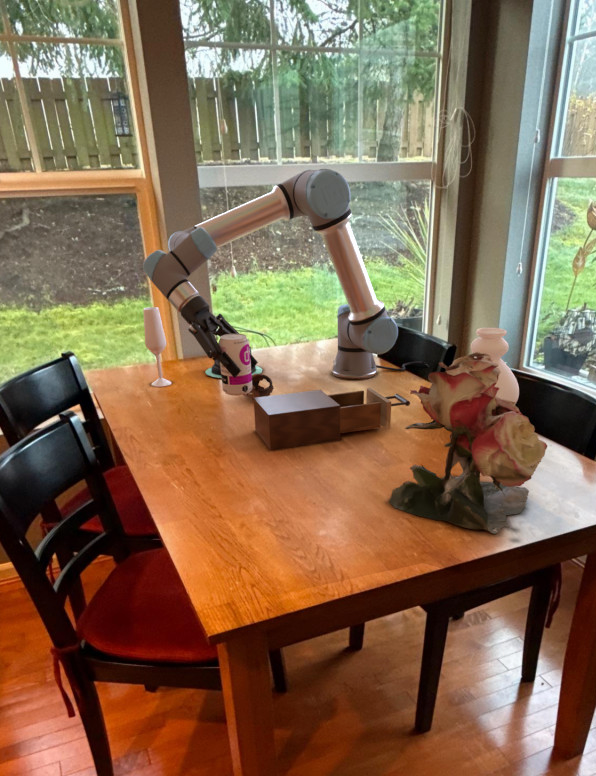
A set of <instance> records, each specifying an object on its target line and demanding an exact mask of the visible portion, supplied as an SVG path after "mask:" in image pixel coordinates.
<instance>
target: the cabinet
mask: <svg viewBox="0 0 596 776" xmlns="http://www.w3.org/2000/svg"><path fill="white" fill-rule="evenodd" d="M328 395H329V394H327V393H326V392H324V391H323V390H321V389H315V390H307V391H298V392H290V393H283V394H281V393H280V394H273V395H269V396H265V397H256V398H253V397H252V398H253V399H252V401H253V400H254V401H253V414H254V415H253V416H254V426H255V427H254V429H255V432H256V434H257V435H258V436H259V437H260V439H261V440H262V442H263V443H264V444H265V446H267V448H268V449H269V450H270V451H276V450H277V451H278V450H283V449H290V448H297V447H303V446H304V447H305V446H311V445H316V444H323V443H331V442H337V441H341V433H340V405H339V404H338V403H336V402H335V401H334V400H333V399H331V398H330V397H329V396H328Z"/></svg>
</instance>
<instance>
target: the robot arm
mask: <svg viewBox="0 0 596 776" xmlns="http://www.w3.org/2000/svg"><path fill="white" fill-rule="evenodd" d="M351 197H352V196H351V188H350V186H349V182H348V181H347V179H346V178H345V177H344V176H343V175H342V174H341V173H339V172H337V171H335V170H333V169H330V168H320V169H307V170H302V171H301V172H299V173H297V174H294V176H292V177H290V178H288V179H286V180H284V181H282V182H281V183H278V184H276V185H274V186H273V188H272V190H271V191H270V192H268V193H266V194H263V195H262V196H259V197H256V198H255V199H252V200H250V201H247V202H246V203H245V202H244V203H243V204H241V205H239V206H236V207H234V208H232V209H230V210H227V211H225V212H223V213H220V214H219V215H216V216H214V217H212V218H209V219H207V220H205V221H203V222H201V223H198V224H196V225H194V226H192V227H189V228H187V229H184V230H178V231H176V232H174V233H172V234H171V235H170V237H169V238H168V242H167V247H168V252H167V253H166V252H165V251H163V250H162V249H157V250H155V251H153V252H151V253H149V255H148V256H147V257H146V258H145V259H144V261H143V264H142V270H143V273H145V275H146V276H147V278H148V279H149V280H150V281H151V283H152V284H153V285H154V286H155V287H156V288H157V289H158V290H159V292H160V293H161V294H162V295H163V296H164V297H165V299H166V300H167V301H168V302H169V303H170V304H171V305H172V306H173V308H174V310H176V312H178V313H180V316H181V317H182V318H183V319H184V321H185V322H186V323H187V325H190V326H189V327H188V329H187V330H188V332H189V333H190V334H191V335H192V336H193V337H194V338H195V340H196V341H197V343H198V344H199V345H200V347H201V348H202V350H203V351H204V352H205V354H206V356H207V357H208V358H209V359H211V360H213V361H216V360H217V359H218V360H219V361H220V363H221V364H222V365H223V366H224V367H225V368H226V369H227V370H228V371H229V372H230V373H231V375H232V376H233V377H234V378H235V377H236V376H237V375H238V374H239V373H240V372H241V370H240V369H239V367H238V366H237V365H236V364H235V363H234V362H233V360H232V359H231V358H230V357H229V356H228V355H227V353H226V352H223V353H222V350H221V348H220V346H219V344H218V342H219V341H218V340H217V338H216V336H218V337H219V338H220V337H221V336H223V335H226V334H240V332H238V331H237V329H235V327H233V326H232V325H231V324H230V323H229V322H228V321H227V319H226V318H225V317H224V316H223V315H222V314H221V313H218V314H217V315H214V314H213V313H212V312H210V307H211V306H210V304H209V303H208V302H207V301H206V299H205V298H204V297H203V295H200V292H199V291H198V290H197V289H196V288H195V287H194V285H193V284H192V283H191V282H190V281H189V279H187V278H188V277H190V276H191V275H193V273H194V272H195V271H196V270H198V269H199V268H200V267H201V266H202V265H204V264H205V263H206V262H207V261H208V260H210V259H211V258H212V256H213V255H214V254H215V253H217V251H218V248H220V247H222V246H225V245H228V244H229V243H232V242H234V241H236V240H238V239H240V238H243V237H246V236H247V235H251V234H252V233H254V232H256V231H258V230H261V229H263V228H265V227H268V226H270V225H272V224H275V223H276V222H279V221H281V220H283V221H286V222H287V221H290V220H293V219H296V218H299V217H308V219H309V222H310V225H311V227H312V230H313V232H315V233H316V234H319V235H320V236H321V238H322V240H323V243H324V246H325V249H326V250H327V253H328V256H329V259H330V261H331V264H332V266H333V269H334V271H335V274H336V278H337V279H338V281H339V284H340V288H341V290H342V291H343V295H344V297H345V300H346V302H347V303H346V304H341V305H340V306H338V308H337V315H336V319H337V352H336V355H335V359H333V361H332V364H333V365H332V375H333V377H336V378H339V379H345V380H364V379H370V378H373V377H375V376H376V375H377V374H378V373H377V372H378V371H377V369H383V370H387V371H394V372H395V371H396V372H403V371H405V370H406V367H407V366H413V365H423V366H425V367H426V368H430V365H428V364H427V363H426V364H422V362H423V361H418V360H417V361H411V362H410V361H409V362H407V363H403V364H402V365H401V368H395V367H388V366H383V365H377V364H376V359H375V356H374V355H383V354H385V353H387V352H389V351H390V350H391V349H392V348H393V347H394V345H395V344H396V341H397V339H398V336H399V328H398V325H397V323H396V321H395V320H394V319H393V318H392V317H391V316H389V314H388V312H387V309H386V307H385V304H384V302H383V301H381V300H379V299H377V296H376V293H375V291H374V288H373V284H372V282H371V280H370V279H371V278H370V277H369V273H368V271H367V268H366V265H365V262H364V260H363V257H362V254H361V252H360V249H359V246H358V243H357V240H356V237H355V234H354V232H353V229H352V227H351V224H350V223H351V222H350V220H351V217H352V214H353V213H352V210H351V206H350V202H351V199H352V198H351ZM250 360H251V369H253V368H254V367H255V366H257V365H258V364H259V361H258V360H257V359H256V358H255V357H254V355H253V354H252V352H251V353H250Z"/></svg>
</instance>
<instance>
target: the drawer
mask: <svg viewBox="0 0 596 776" xmlns="http://www.w3.org/2000/svg"><path fill="white" fill-rule="evenodd" d="M327 395H328V396H329V397H330V398H331V399H333V400H334V401H335V402H336V403H338V404H339V405H340V434H346V433H352V432H359V431H366V430H372V429H379V428H380V429H381V427H383V428H384V429H386V430H389V429H391V420H392V407H397V406H406V407H409V406H410V404H411V401H409V400H408V399H407V398H405V397H404V396H402V395H400V394H399V393H395V394H394V395H389V396H384V395H383V394H381V393H379V392H377V391H376V390H375V389H374V388H372V387H366V397H365V391H364V390H356V391H348V392H340V393H332V394H327ZM365 398H366V399H365ZM393 399H395V400H397V401H398V402H392V401H391V400H393ZM365 400H366V401H365Z"/></svg>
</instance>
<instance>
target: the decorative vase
mask: <svg viewBox="0 0 596 776" xmlns="http://www.w3.org/2000/svg"><path fill="white" fill-rule="evenodd" d="M507 333H508V331H507V330H506V329H505V328H499V327H479V328H477V329H476V330H475V334H476V335H478V337H476V338H475V339H474V340H473V341H472V342H471V344H470V351H471V352H472V354H473V353H475V352H480V353H482V354H483V353H484V354H488V355H489V356H491V360H492V361H493V363H496V364H498V365H499V366H498V367H496V368H499V369H500V374H499V376H498V381H497V383H496V385H495V386H494V387H498V388H499V390H498V391H497V394H496V396H497V397H498V398H500V399H504V400H508V401H512V402H515V405H516V404H517V402H518V400H519V396H520V387H519V383H518V379H517V377H516V376H515V374H514V373H513V371H512V370H511V368H510V367H509V365H508V364H507V363H506V362H505V361H504V360H503V359H502V357H503V356H504V355H505V354H507V352H508V351H509V349H510V347H509V343H508V341H506V339H505V338H504V337H505V336H507ZM475 358H477V357H475Z"/></svg>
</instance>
